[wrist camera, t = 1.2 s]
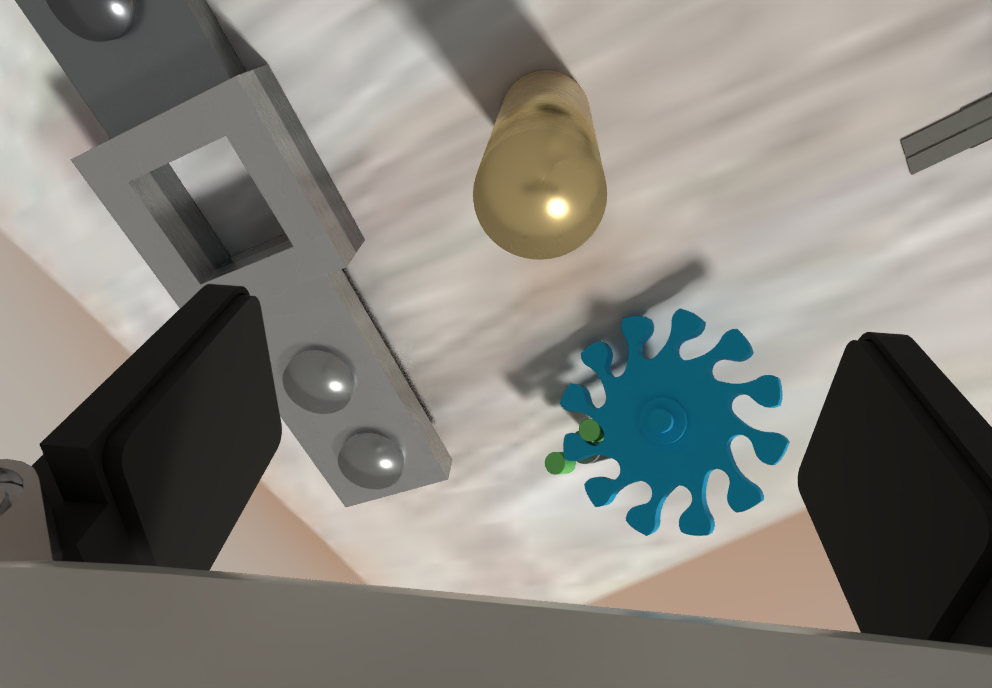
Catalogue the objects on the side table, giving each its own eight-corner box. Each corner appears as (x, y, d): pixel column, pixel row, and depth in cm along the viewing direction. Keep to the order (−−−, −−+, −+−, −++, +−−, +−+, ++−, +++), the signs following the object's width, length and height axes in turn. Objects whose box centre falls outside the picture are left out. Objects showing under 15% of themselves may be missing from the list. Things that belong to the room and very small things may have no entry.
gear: (738, 272, 27) (824, 513, 24) (759, 299, 32) (832, 502, 29) (513, 355, 32) (562, 564, 29) (562, 367, 37) (608, 547, 34)
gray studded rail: (-111, -185, 23) (-213, -206, 20) (59, -316, 20) (-27, -363, 17) (345, 473, 37) (326, 518, 34) (472, 436, 35) (465, 481, 32)
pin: (502, 66, 25) (475, 124, 17) (595, 72, 25) (616, 134, 16) (498, 159, 27) (471, 254, 18) (584, 165, 27) (597, 264, 18)
